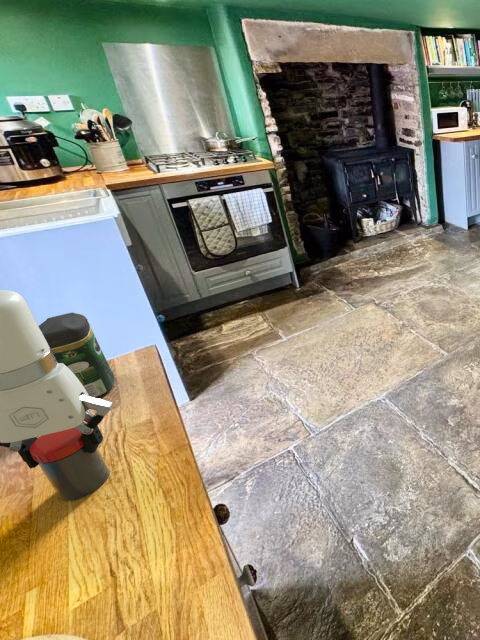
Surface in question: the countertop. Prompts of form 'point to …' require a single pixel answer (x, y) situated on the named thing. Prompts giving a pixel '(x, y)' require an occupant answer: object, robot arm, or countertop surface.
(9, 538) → the countertop surface
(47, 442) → the jam lid
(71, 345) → the coffee jar
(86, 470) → the jam jar
